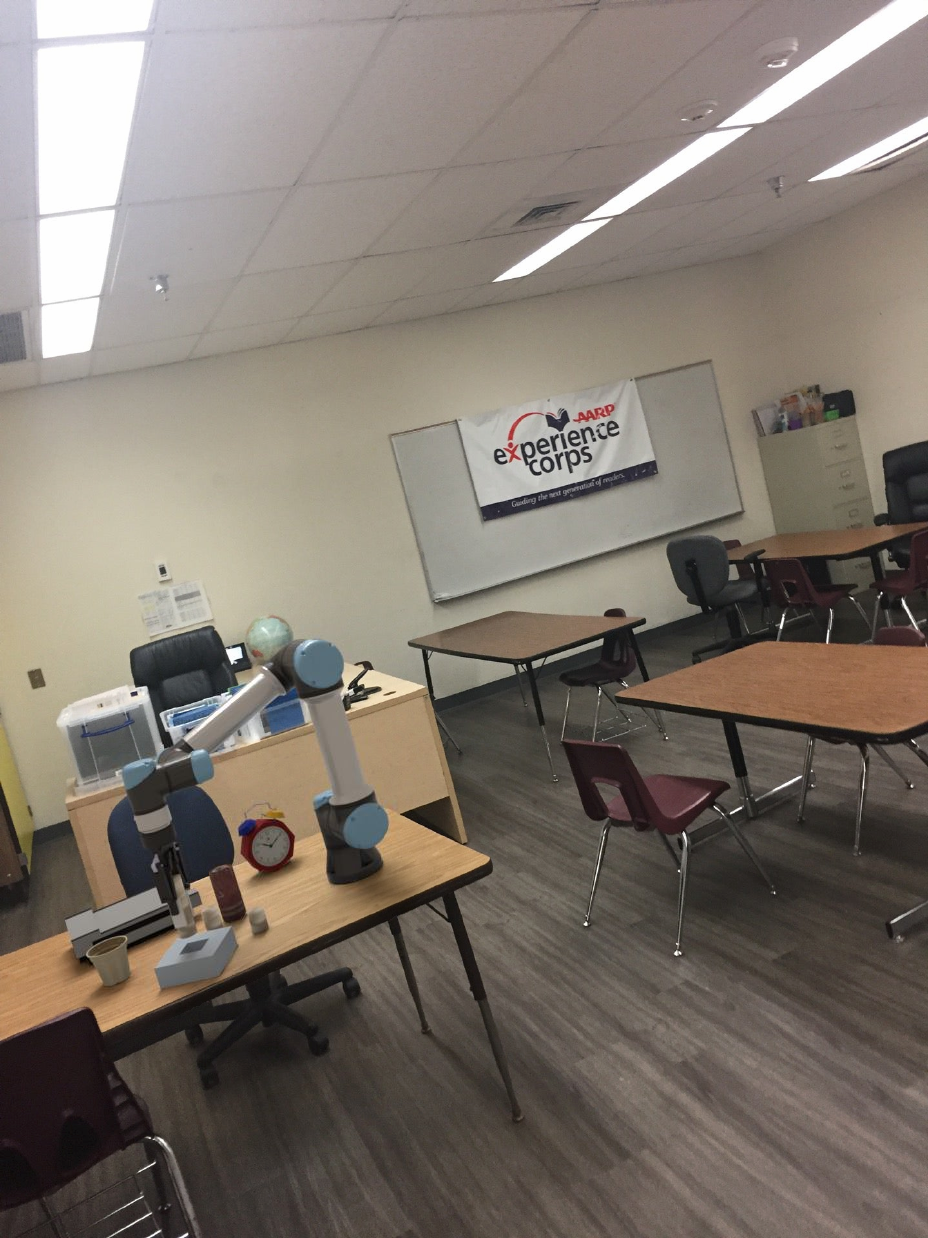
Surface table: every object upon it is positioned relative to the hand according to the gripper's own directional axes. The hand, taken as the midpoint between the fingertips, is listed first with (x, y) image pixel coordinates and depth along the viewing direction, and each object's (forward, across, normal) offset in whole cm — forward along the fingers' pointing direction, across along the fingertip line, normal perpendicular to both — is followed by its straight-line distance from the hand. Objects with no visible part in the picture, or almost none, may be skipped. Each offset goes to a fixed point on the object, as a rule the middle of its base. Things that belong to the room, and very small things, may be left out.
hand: (185, 921), depth 212 cm
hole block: (+11, 0, 0) cm, 11 cm away
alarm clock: (+11, -54, +3) cm, 55 cm away
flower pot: (+12, -3, -22) cm, 25 cm away
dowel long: (+3, 0, 0) cm, 3 cm away
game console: (+12, -30, -28) cm, 42 cm away
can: (+11, -24, +1) cm, 27 cm away
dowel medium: (+11, -13, 0) cm, 17 cm away
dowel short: (+11, -13, +11) cm, 21 cm away
